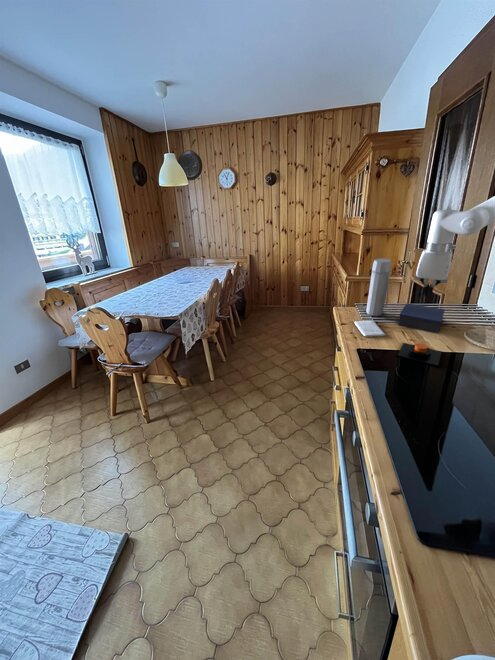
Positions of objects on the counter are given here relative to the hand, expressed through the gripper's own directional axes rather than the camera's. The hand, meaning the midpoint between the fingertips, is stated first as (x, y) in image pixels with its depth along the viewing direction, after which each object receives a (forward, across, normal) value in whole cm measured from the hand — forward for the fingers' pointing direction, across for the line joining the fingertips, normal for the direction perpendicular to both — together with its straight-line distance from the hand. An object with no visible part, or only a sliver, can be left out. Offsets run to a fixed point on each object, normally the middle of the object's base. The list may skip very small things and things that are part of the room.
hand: (426, 295), depth 109 cm
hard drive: (+15, +16, +11) cm, 25 cm away
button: (+12, -4, +22) cm, 25 cm away
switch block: (+15, -4, +22) cm, 27 cm away
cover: (+10, +1, -6) cm, 12 cm away
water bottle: (+15, +19, -7) cm, 25 cm away
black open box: (+15, +1, -7) cm, 16 cm away
